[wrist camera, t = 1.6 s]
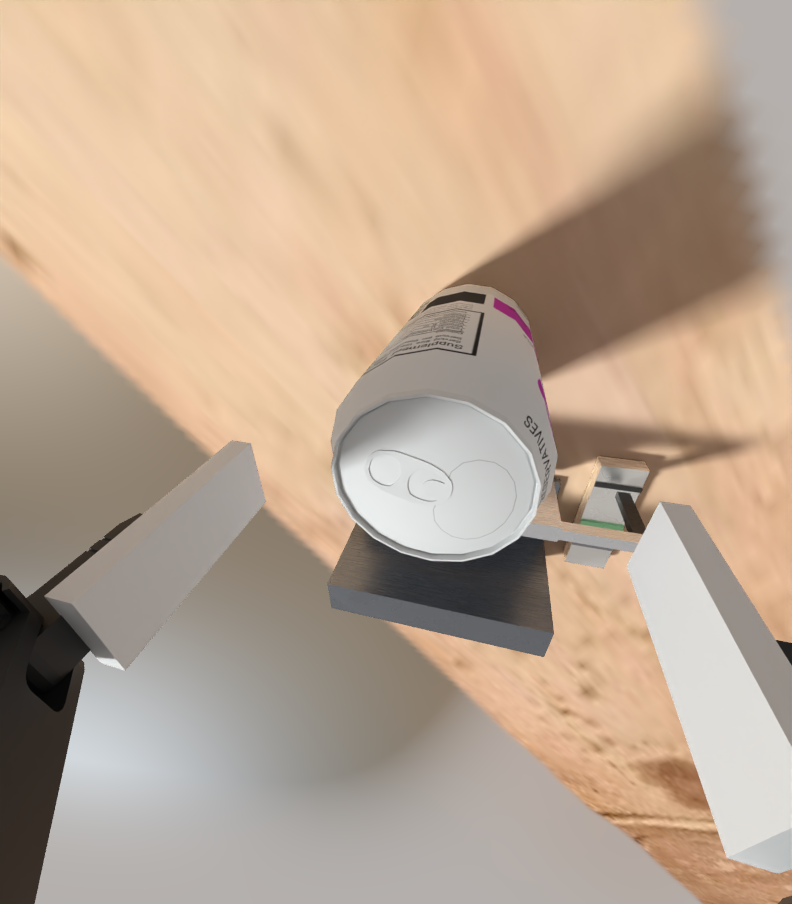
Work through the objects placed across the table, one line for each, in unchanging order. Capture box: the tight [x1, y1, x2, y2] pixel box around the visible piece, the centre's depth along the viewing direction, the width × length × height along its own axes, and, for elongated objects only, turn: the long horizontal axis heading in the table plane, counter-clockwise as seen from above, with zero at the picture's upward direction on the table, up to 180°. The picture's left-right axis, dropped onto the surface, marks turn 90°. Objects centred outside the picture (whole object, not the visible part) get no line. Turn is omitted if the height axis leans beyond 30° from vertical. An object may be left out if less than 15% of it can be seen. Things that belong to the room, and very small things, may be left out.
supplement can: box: [331, 284, 558, 562], centre depth 18 cm, size 8×8×15 cm
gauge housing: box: [328, 456, 650, 657], centre depth 27 cm, size 12×21×9 cm, turn 90°
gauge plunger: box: [342, 479, 646, 552], centre depth 25 cm, size 1×19×6 cm, turn 90°
